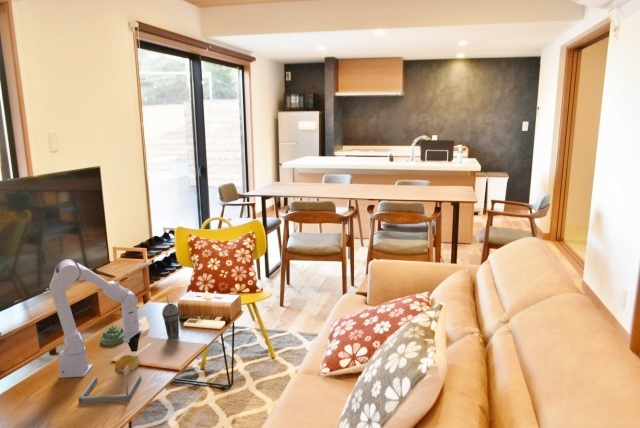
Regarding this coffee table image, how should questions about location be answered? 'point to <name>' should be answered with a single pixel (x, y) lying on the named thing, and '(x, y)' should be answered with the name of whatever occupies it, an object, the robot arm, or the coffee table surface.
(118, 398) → the frame
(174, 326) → the beverage cup
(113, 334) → the decorative artifact
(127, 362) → the bread roll
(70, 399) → the coffee table surface
